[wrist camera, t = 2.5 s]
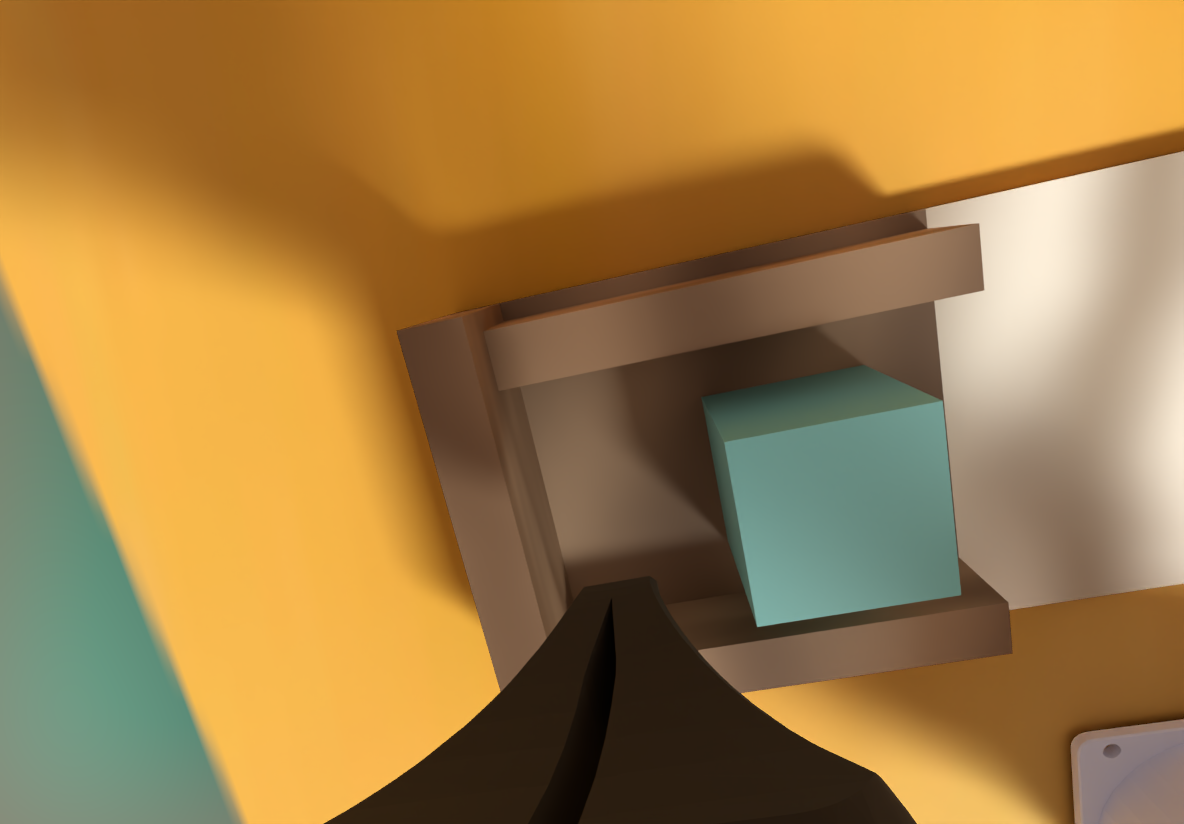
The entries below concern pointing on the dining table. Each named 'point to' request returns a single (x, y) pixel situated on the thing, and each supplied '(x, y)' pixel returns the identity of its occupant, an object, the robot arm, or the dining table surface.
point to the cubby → (818, 345)
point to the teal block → (834, 494)
